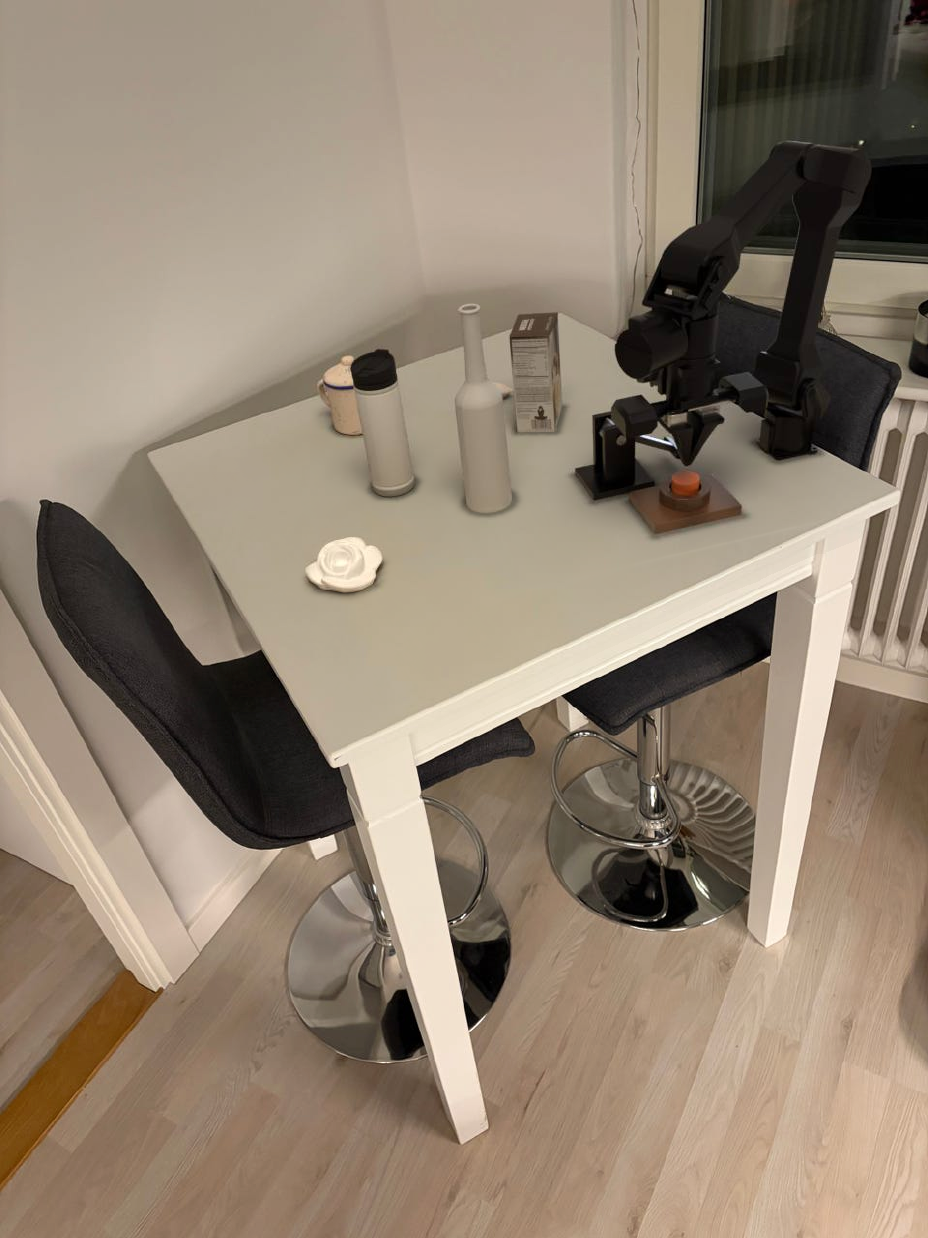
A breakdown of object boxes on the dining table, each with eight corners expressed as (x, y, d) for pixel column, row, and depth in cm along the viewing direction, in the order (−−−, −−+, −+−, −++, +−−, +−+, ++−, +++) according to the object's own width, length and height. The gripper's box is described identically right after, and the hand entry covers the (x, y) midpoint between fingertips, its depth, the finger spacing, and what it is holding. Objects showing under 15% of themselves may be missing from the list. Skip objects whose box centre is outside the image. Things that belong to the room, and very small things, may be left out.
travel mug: (423, 477, 139) (403, 349, 127) (403, 499, 135) (380, 369, 123) (386, 472, 142) (364, 346, 129) (365, 494, 137) (340, 366, 125)
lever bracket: (633, 462, 136) (634, 400, 130) (654, 488, 130) (656, 424, 124) (575, 475, 135) (572, 413, 129) (593, 502, 129) (592, 438, 123)
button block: (711, 484, 129) (712, 461, 127) (741, 516, 122) (743, 493, 120) (629, 502, 128) (629, 480, 126) (655, 535, 121) (655, 512, 119)
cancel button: (692, 480, 125) (692, 468, 124) (703, 492, 122) (704, 481, 121) (666, 485, 124) (667, 474, 123) (677, 498, 122) (678, 487, 120)
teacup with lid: (397, 415, 157) (386, 349, 150) (366, 439, 151) (353, 372, 144) (340, 406, 162) (326, 341, 155) (308, 429, 156) (293, 363, 149)
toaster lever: (665, 448, 134) (673, 433, 133) (679, 464, 130) (687, 449, 129) (595, 428, 130) (602, 413, 128) (607, 444, 126) (615, 428, 124)
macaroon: (485, 392, 160) (484, 379, 159) (514, 391, 159) (513, 377, 158) (482, 404, 157) (481, 390, 155) (512, 402, 156) (511, 388, 154)
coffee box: (524, 407, 154) (517, 312, 144) (563, 407, 153) (558, 310, 143) (516, 433, 147) (508, 335, 137) (556, 433, 146) (551, 334, 136)
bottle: (488, 484, 136) (468, 294, 118) (521, 498, 132) (506, 303, 114) (456, 504, 132) (431, 311, 115) (489, 519, 128) (469, 321, 111)
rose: (364, 516, 124) (389, 551, 117) (370, 544, 127) (394, 580, 119) (292, 539, 121) (313, 576, 114) (300, 567, 124) (321, 605, 117)
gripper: (733, 313, 119) (725, 424, 128) (594, 341, 116) (597, 451, 126) (776, 343, 110) (764, 460, 120) (627, 374, 108) (627, 490, 117)
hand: (686, 464), depth 121 cm, fingers closed
